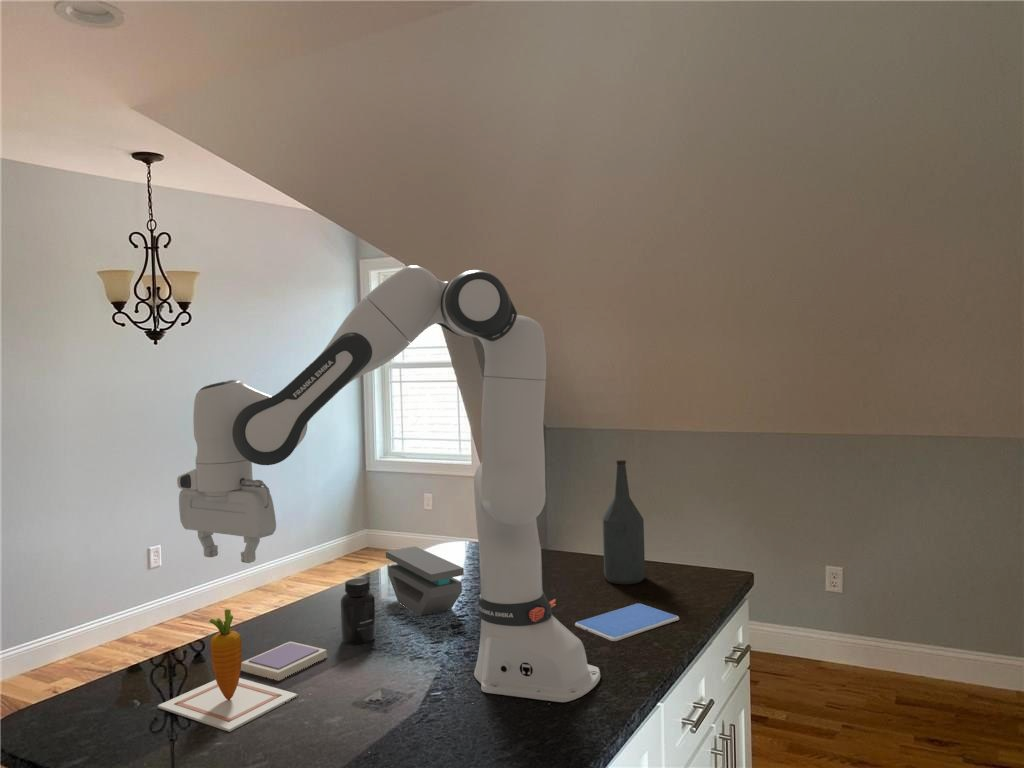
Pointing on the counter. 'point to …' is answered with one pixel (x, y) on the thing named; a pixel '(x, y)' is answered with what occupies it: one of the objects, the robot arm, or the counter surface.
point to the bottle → (623, 535)
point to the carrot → (226, 655)
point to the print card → (227, 704)
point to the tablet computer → (626, 621)
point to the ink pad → (283, 660)
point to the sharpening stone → (424, 580)
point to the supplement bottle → (357, 613)
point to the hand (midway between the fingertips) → (229, 559)
